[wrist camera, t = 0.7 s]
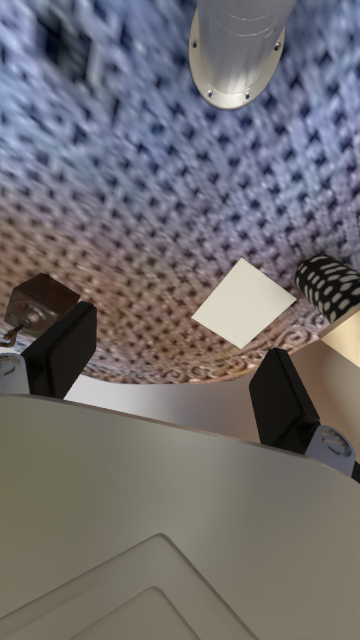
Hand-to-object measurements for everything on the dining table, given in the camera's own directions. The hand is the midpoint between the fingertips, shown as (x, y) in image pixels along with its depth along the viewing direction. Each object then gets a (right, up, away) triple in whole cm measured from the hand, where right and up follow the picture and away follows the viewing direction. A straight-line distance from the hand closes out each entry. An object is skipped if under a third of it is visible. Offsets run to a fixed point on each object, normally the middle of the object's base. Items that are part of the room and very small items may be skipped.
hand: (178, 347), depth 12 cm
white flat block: (+14, +4, +39) cm, 42 cm away
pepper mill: (-33, +5, +44) cm, 56 cm away
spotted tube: (+29, +11, +33) cm, 45 cm away
